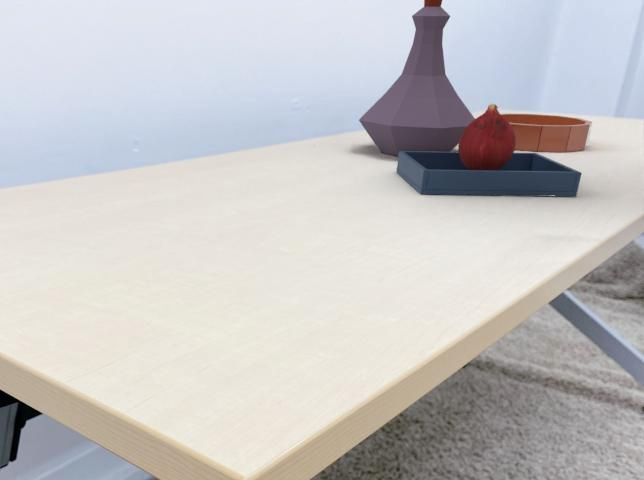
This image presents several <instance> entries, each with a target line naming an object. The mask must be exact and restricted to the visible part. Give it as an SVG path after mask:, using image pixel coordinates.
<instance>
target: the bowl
mask: <svg viewBox="0 0 644 480" xmlns="http://www.w3.org/2000/svg"><path fill="white" fill-rule="evenodd" d="M500 114H501V115H502V116H503V117H504V118H505V119H506V120H507V121H508V122H509V123H510V125H511V126H512V128H513V131H514V134H515V141H516V144H515V150H514V151H527V152H535V153H539V152H541V153H567V152H578V151H585V150H586V148H587V147H588V145H589V141H590V135H591V132H592V127H593V121H590V120H587V119H585V118H584V119H583V118H580V117H572V116H566V115H565V116H564V115H555V114H540V113H500Z"/></svg>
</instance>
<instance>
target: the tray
mask: <svg viewBox="0 0 644 480" xmlns="http://www.w3.org/2000/svg"><path fill="white" fill-rule="evenodd" d="M396 173H397V175H399V176H400V177H401V178H402V179H403V180H404V181H405V182H407V183H408V184H409V186H411V187H412V188H413V189H414V190H415V191H417V192H418V193H419V194H420V195H441V196H442V195H446V196H449V195H450V196H455V195H456V196H501V195H555V196H554V197H561V196H573V197H572V198H576V197H577V195H578V190H579V187H580V182H581V177H582V172H580V171H578V170H576V169H574V168H572V167H570V166H567V165H565V164H563V163H560V162H559V161H555V160H553V159H551V158H549V157H547V156H544V155H542V154H539V153H538V152H514V153H513V155H512V157H511V159H510V160H509V161H508V162H507V163H506V164H505V165H504V166H503V167H502V168H500V169H499V170H497V171H494V170H468V169H467V168H466V166H465V165H464V164H463V162H462V161H461V159H460V156H459V151H450V152H432V151H399V155H398V156H397V163H396ZM468 194H469V195H468ZM574 196H575V197H574Z"/></svg>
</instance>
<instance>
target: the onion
mask: <svg viewBox="0 0 644 480" xmlns="http://www.w3.org/2000/svg"><path fill="white" fill-rule="evenodd" d="M501 114H502V113H500V111H499V107H498V105H497V104H495V103H491V104H489V105H488V106H487V108H486V110H485V111H484V113H483V114H481V115H479V116H477V117H476V118H475V119H474V120H473V121H472V122H471V123H470V124H469V125H468V126H467V127H466V129H465V130H464V131H463V133H462V135H461V138H460V141H459V144H458V145H457V146H458V147H457V148H458V152H459V156H460V159H461V161H462V162H463V164H464V165H465V166H466V168H467V169H468V170H494V171H497V170H499V169H500V168H502V167H503V166H504V165H505V164H506V163H507V162H508V161H509V160H510V159H511V157H512V155H513V153H515V151H516V150H515V144H516V141H515V134H514V131H513V128H512V126H511V125H510V123H509V122H508V121H507V120H506V119H505V118H504V117H503V116H502V115H501Z"/></svg>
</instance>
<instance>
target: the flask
mask: <svg viewBox="0 0 644 480" xmlns="http://www.w3.org/2000/svg"><path fill="white" fill-rule="evenodd" d="M442 3H443V0H423V7H422V8H420V9H419V10H418V11H417V12H415V13H414V14H412V15H411V18H412V21H413V25H414V27H415V32H414V36H413V41H412V45H411V47H410V50H409V53H408V55H407V57H406V61H405V64H404V67H403V69H402V71H401V74H400V75H399V76H398V78H397V79H396V80H395V81H394V82H393V83H392V84H391V86H390V87H389V88H388V89H387V91H386V92H385V93H384V94H382V96H381V97H380V98H379V99H378V100H376V102H375V103H374V104H373V105H372V106H371V107H370V108H369V109H367V111H365V113H364V114H363V115H362V116H361V117H360V118H359V119H358V121H359V123H360V124H361V126H362V127H363V129H364V130H365V131H366V133H367V134H368V136H369V137H370V140H372V142H373V143H374V145H375V146H376V148H377V149H378V150H379V152H380V153H382V152H383V154H387V155H391V154H392V155H391V156H395V155H396V156H395V157H398V155H399V151H432V152H453V150H454V149H455V148H456V147H457V146H458V145H459V141H460V138H461V135H462V133H463V131H464V130H465V129H466V127H467V126H468V125H469V124H470V123H471V122H472V121H473V120H474V119H476V118H475V116H474V115H473V114H472V112H471V111H470V109H469V108H468V107H467V106H466V104H465V102H464V101H463V100H462V99H461V97H460V96H459V95H458V93H457V91H456V90H455V88H454V86H453V84H452V82H451V81H450V80H449V77H448V76H447V75H446V66H445V65H446V64H445V57H444V47H443V39H444V38H443V35H444V29H445V27H446V25H447V23H448V22H449V19H450V18H451V15H450V14H449V13H448V12H447V11H446V10H445V9H444V8H443V7H442Z"/></svg>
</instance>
